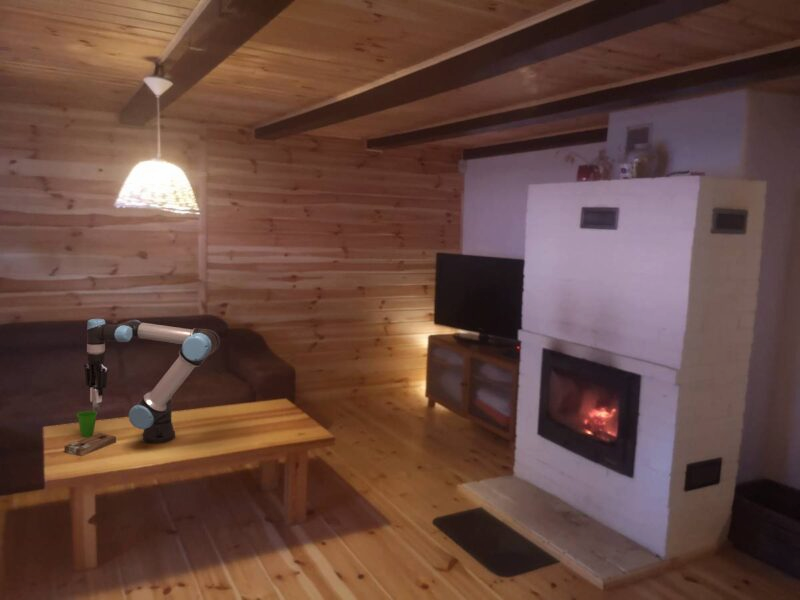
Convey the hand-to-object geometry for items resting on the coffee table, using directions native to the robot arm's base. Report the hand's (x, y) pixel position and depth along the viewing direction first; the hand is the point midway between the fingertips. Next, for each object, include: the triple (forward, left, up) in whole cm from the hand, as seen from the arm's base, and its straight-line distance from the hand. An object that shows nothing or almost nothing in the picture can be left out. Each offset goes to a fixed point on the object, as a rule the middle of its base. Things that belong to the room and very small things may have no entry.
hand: (96, 401), depth 294 cm
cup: (+14, -7, -21) cm, 26 cm away
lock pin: (0, 0, -4) cm, 4 cm away
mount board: (-1, +4, -21) cm, 21 cm away
